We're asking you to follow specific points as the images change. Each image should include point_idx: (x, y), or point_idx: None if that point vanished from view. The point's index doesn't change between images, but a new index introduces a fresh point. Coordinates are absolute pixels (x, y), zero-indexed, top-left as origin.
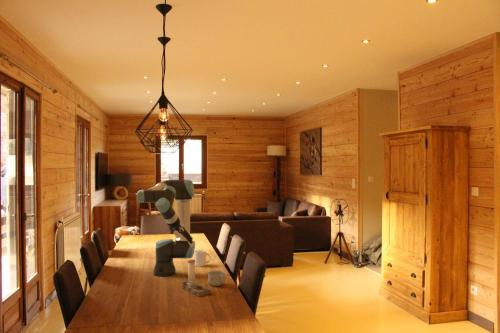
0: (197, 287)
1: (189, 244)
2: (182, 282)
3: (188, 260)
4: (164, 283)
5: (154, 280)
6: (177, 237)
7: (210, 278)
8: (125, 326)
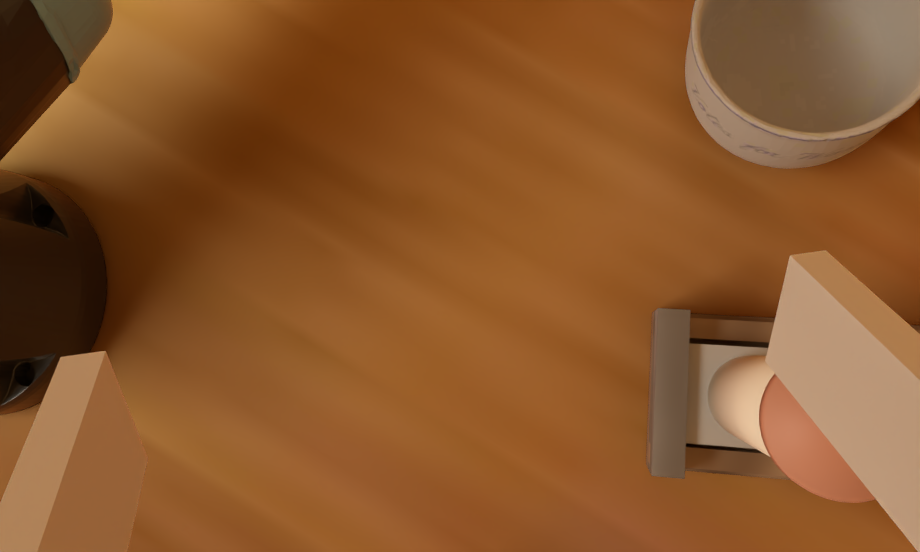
0: None
1: (854, 450)
2: (659, 475)
3: (818, 477)
4: (336, 503)
5: (161, 521)
6: (131, 492)
7: (828, 154)
8: None
